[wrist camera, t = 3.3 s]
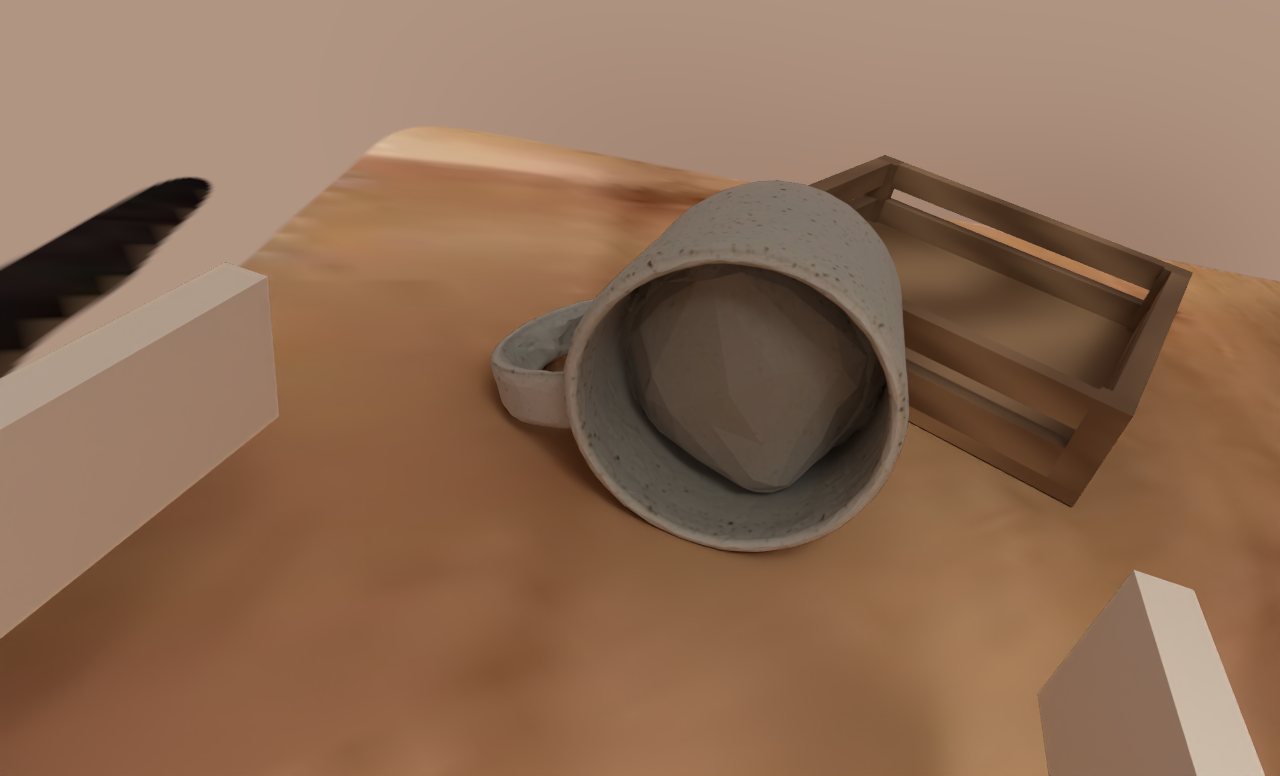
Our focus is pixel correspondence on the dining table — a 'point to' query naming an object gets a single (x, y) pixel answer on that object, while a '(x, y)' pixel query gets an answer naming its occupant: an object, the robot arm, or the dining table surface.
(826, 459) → the ceramic mug
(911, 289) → the walnut crate
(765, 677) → the dining table surface
